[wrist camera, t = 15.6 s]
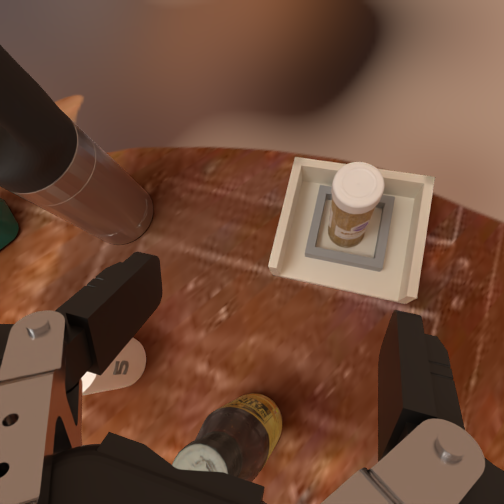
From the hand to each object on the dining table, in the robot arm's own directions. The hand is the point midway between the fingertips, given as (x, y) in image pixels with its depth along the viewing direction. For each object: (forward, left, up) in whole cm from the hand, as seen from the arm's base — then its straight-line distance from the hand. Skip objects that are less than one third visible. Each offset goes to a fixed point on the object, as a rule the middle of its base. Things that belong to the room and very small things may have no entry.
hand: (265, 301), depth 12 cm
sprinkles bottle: (+3, +14, -32) cm, 35 cm away
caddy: (+3, +14, -33) cm, 35 cm away
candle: (-21, -8, -33) cm, 40 cm away
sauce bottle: (-3, -10, -33) cm, 35 cm away
